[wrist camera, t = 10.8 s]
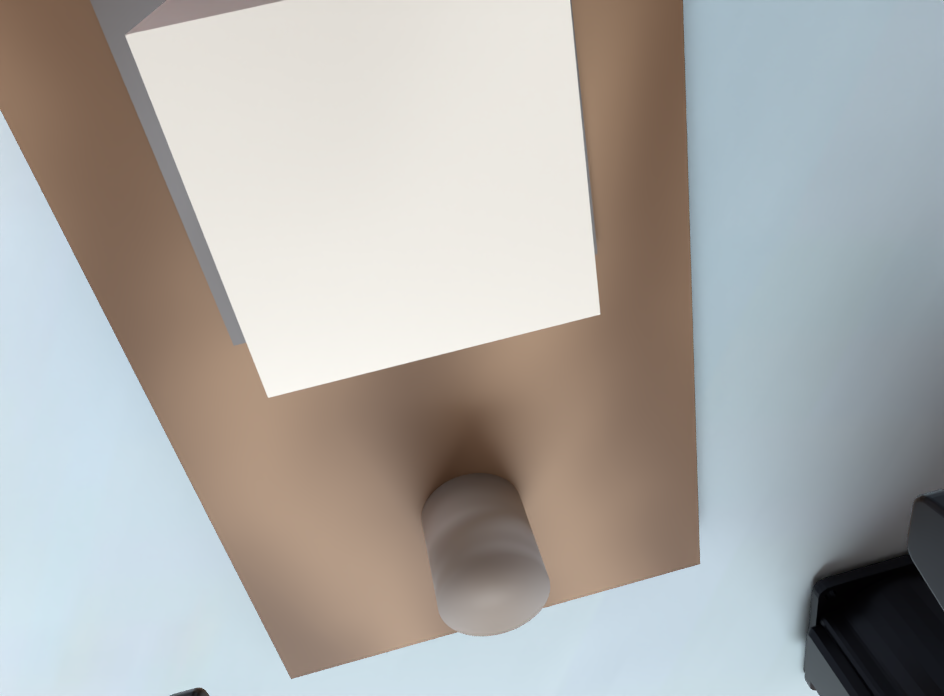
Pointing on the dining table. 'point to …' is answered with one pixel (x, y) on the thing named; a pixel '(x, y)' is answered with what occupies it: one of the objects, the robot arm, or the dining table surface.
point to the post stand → (403, 386)
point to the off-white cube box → (378, 172)
